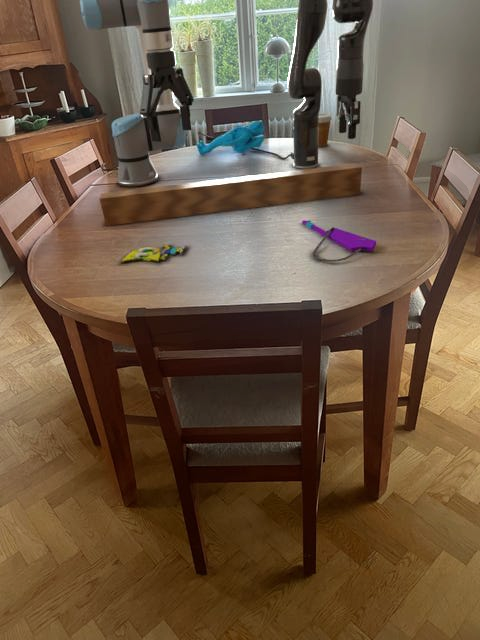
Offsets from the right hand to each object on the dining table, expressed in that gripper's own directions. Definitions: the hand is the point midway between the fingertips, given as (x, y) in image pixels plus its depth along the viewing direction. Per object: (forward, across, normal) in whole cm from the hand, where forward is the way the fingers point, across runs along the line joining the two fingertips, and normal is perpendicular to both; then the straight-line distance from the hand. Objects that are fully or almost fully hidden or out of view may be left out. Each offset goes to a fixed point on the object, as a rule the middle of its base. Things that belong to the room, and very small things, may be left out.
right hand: (346, 135), depth 145 cm
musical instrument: (+18, -36, +16) cm, 44 cm away
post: (+18, 0, +36) cm, 40 cm away
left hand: (-6, -1, +52) cm, 52 cm away
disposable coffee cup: (+18, +64, -10) cm, 67 cm away
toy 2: (+18, +68, +28) cm, 76 cm away
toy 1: (+18, -29, +61) cm, 70 cm away
